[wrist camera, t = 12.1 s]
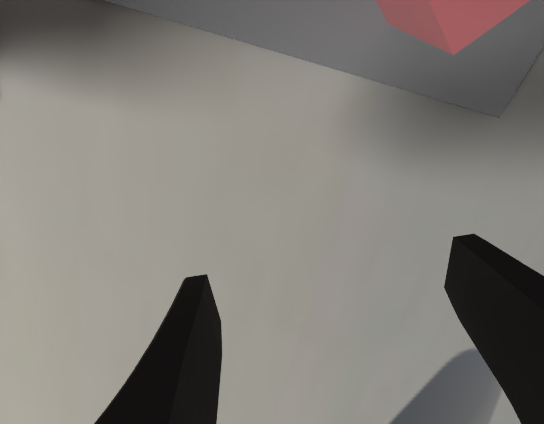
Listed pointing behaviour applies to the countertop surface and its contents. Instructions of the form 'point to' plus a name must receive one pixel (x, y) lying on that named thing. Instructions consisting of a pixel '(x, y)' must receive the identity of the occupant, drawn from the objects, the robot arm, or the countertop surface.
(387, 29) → the mat
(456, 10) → the box
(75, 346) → the countertop surface
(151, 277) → the countertop surface
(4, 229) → the countertop surface
